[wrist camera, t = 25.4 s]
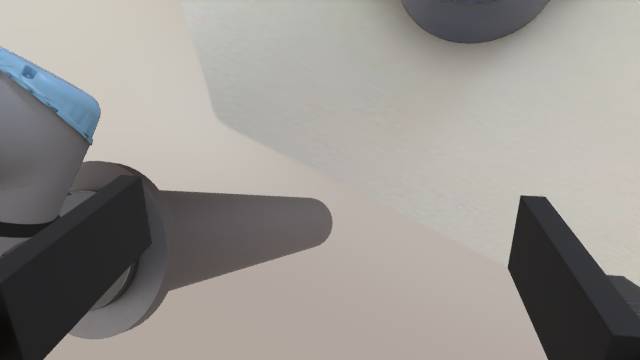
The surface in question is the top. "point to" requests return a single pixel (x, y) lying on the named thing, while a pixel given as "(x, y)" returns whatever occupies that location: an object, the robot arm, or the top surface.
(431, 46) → the top surface
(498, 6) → the pot
